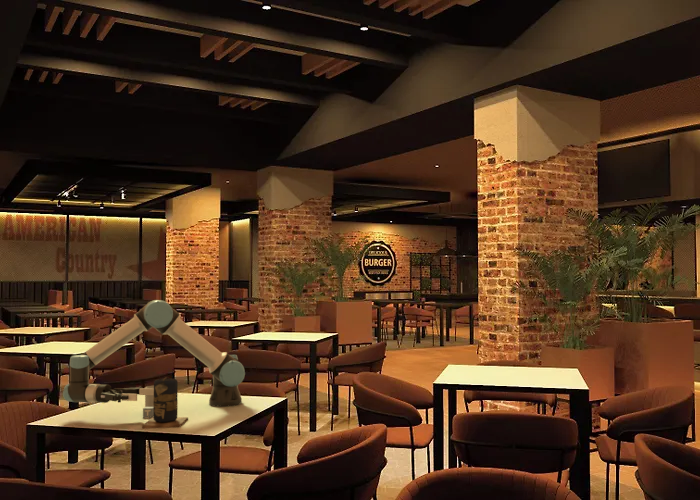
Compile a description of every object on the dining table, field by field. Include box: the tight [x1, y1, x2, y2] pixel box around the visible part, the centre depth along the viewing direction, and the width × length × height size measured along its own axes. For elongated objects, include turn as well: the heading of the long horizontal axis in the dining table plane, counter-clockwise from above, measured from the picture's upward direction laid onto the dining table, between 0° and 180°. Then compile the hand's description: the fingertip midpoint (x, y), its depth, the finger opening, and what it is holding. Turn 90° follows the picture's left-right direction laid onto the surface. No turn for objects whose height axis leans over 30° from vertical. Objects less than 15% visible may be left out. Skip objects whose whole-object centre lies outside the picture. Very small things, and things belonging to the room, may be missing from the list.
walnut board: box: [141, 416, 189, 429], centre depth 273 cm, size 15×15×1 cm
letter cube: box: [142, 406, 154, 419], centre depth 288 cm, size 4×4×4 cm
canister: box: [153, 376, 179, 422], centre depth 273 cm, size 10×10×18 cm
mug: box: [144, 385, 154, 407], centre depth 302 cm, size 12×8×11 cm
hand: (145, 394), depth 275 cm, fingers open, 13 cm apart
